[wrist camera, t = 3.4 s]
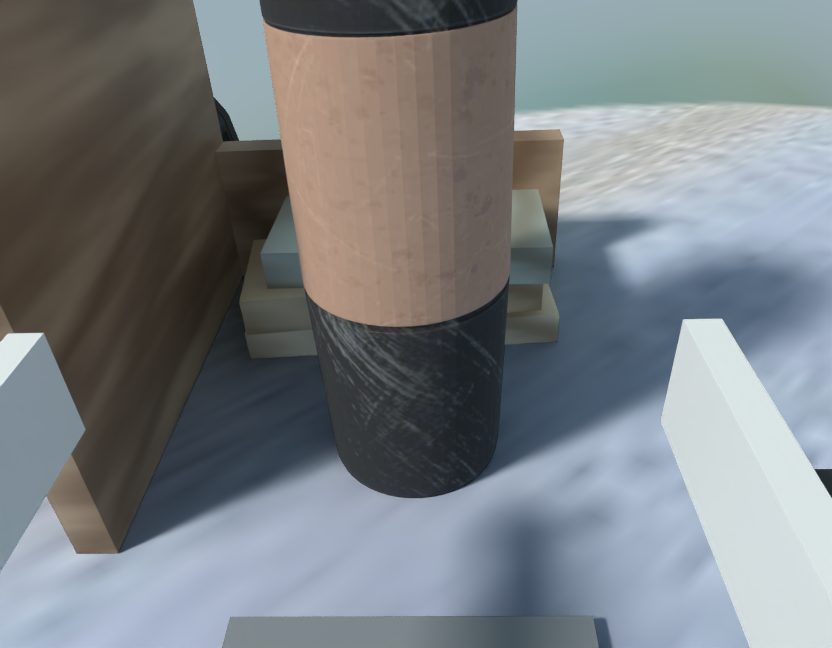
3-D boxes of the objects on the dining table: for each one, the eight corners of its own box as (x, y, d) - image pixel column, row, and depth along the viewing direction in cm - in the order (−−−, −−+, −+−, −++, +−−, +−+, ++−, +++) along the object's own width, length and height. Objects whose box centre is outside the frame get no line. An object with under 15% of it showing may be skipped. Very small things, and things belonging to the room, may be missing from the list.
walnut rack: (549, 254, 43) (578, -126, 32) (631, 549, 25) (766, -86, 14) (224, 263, 44) (137, -103, 33) (76, 553, 26) (-235, -36, 15)
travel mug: (540, 438, 30) (583, -98, 18) (406, 538, 26) (355, -68, 14) (424, 361, 35) (401, -102, 23) (297, 434, 31) (194, -79, 19)
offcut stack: (532, 273, 42) (538, 182, 38) (557, 349, 36) (567, 247, 32) (268, 288, 42) (250, 197, 38) (247, 366, 36) (223, 266, 32)
